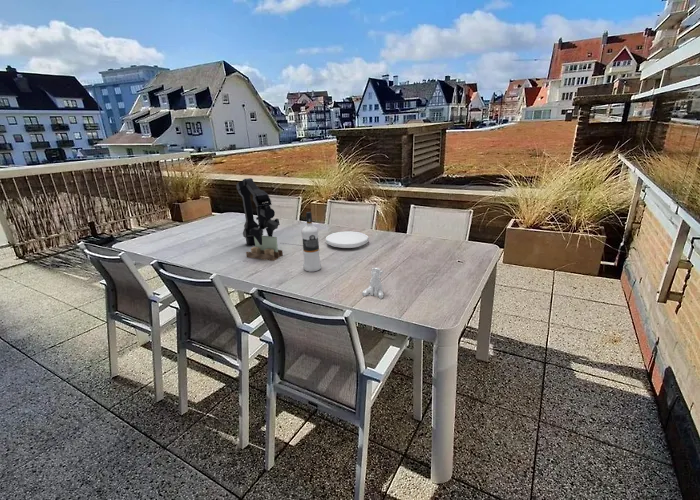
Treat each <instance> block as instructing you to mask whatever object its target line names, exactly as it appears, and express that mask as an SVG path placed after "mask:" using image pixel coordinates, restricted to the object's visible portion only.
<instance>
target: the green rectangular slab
mask: <svg viewBox="0 0 700 500" xmlns="http://www.w3.org/2000/svg"><path fill="white" fill-rule="evenodd" d="M277 237H278V236H272V237H271V236H268V235H262V245H260V244H259V242H258V241H257V239H256V238H255V237H254V240H255V246H254V247H260V250H266V249H267V248H268V249H274V252H278V250H279V247H278V238H277Z"/></svg>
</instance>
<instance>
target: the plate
mask: <svg viewBox="0 0 700 500" xmlns="http://www.w3.org/2000/svg"><path fill="white" fill-rule="evenodd" d="M369 239H370V238H369V236H368V235H367V234H365V233H362V232H359V231H350V230H349V231H348V230H347V231H339V232H338V231H337V232H333V233H330V234H328V235H327V236H326V237H325V243H326V244H327V245H329V246H332V247H335V248H342V249H351V248H352V249H354V248H359V247H362V246H364V245H366V244H367V243H368V242H369Z"/></svg>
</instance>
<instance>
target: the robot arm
mask: <svg viewBox="0 0 700 500" xmlns="http://www.w3.org/2000/svg"><path fill="white" fill-rule="evenodd" d="M235 187H236V189H237V192H238V194H239V195H240V197H241V198H242V204H243V211H244V215H245V222H244V225H243V227H244V228H243V232H242V236H243V237H244V239H245V242H246V245H247V246H249V247H250V246H251V247H255V240H254V237H255V238H256V239H257V241H258V242H259V244H260V245H262V236H264V230H266V233H267V236H271V237H273V235H274V231H275V230H277V229H278V227H279V226H280V225H281V224H280V220H279V219H278V218H276V219H273V218H274V217H275V213H276V211H275V210H274V209H273V208H272V200H271V198H270V196H269V194H268V193H267V192H266V191H265V190H264V189H260V187H258V185H257V184H256V183H255V181H254V180H253V178H252V177H251V178H250V177H249V178H244V179H242V180H240V181H238V182H237V183H236V186H235ZM251 195H252V199H251ZM252 201H253V202H254V204H255V207H256V213H257V214H256V215H257V217H255V218H254V211H253V206H252ZM255 219H256V220H257V222H258V223H257V222H256V221H255Z"/></svg>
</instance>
